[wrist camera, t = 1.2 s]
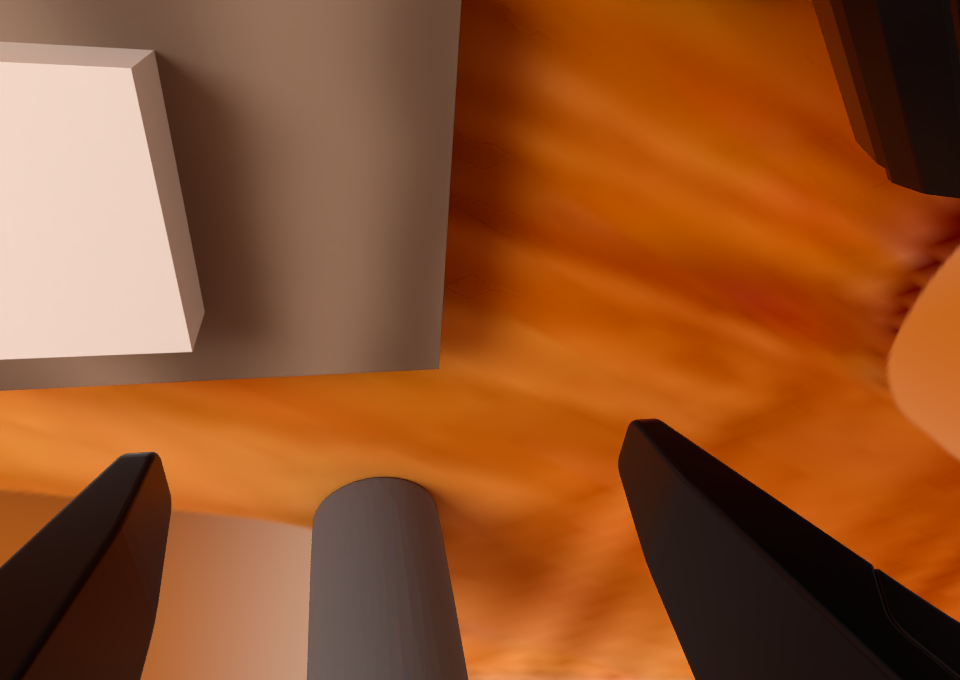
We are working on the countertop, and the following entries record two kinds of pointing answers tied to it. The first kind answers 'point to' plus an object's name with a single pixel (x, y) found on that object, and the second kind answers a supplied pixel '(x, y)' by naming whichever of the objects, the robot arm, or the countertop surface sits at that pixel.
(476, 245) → the countertop surface
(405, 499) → the bottle
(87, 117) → the pale pink rectangular block
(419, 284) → the step
